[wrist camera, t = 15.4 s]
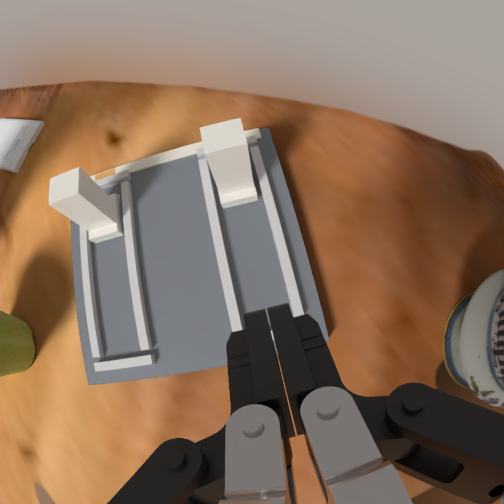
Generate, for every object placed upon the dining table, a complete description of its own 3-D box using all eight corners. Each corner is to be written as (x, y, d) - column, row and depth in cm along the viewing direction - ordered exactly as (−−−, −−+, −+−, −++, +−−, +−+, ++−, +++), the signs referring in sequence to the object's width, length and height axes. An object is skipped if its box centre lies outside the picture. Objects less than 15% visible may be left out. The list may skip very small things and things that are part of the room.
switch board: (96, 383, 27) (84, 385, 25) (78, 190, 33) (67, 181, 30) (326, 340, 27) (331, 341, 25) (268, 135, 32) (268, 122, 30)
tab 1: (92, 242, 29) (47, 214, 21) (91, 205, 30) (49, 171, 22) (121, 233, 29) (79, 201, 21) (118, 196, 30) (80, 158, 22)
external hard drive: (6, 122, 39) (47, 125, 37) (-18, 164, 37) (19, 175, 35) (0, 117, 37) (41, 119, 35) (-24, 160, 35) (12, 170, 34)
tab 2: (222, 207, 29) (204, 163, 21) (214, 169, 30) (196, 120, 22) (257, 198, 29) (251, 152, 21) (247, 161, 30) (239, 109, 22)
